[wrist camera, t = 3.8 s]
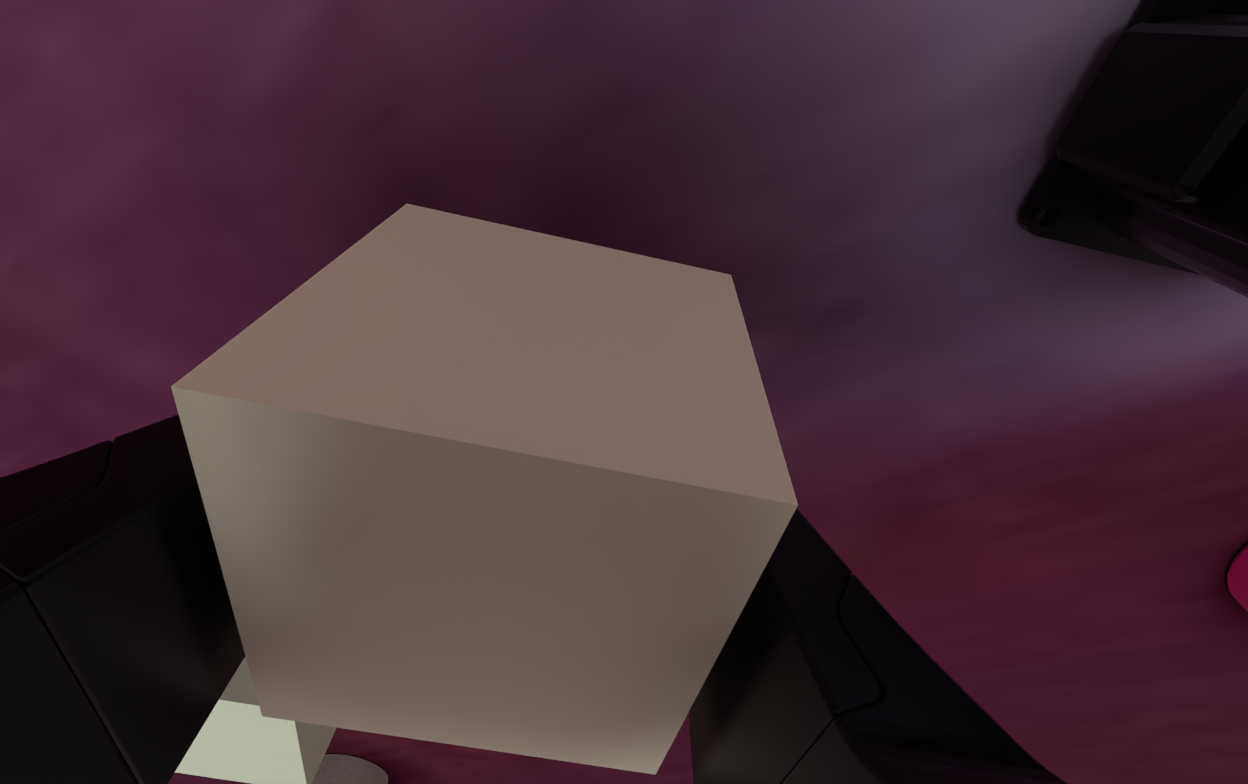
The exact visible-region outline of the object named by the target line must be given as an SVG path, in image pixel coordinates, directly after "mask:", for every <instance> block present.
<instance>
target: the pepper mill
mask: <svg viewBox="0 0 1248 784" xmlns="http://www.w3.org/2000/svg"><path fill="white" fill-rule="evenodd" d="M1227 582H1228V589H1229V591H1230V592H1231V594H1232V596H1233V597H1234V598H1235V599H1236V600H1237V601H1238V602H1239V603H1240V604H1241V606H1242V607H1243V608H1244V609H1245V610H1246V611H1247V612H1248V544H1247V545H1246V546H1245V547H1244V548H1243V549H1242V550H1241V552H1240V553H1239V554H1238V555H1237V556H1236V557H1235V559H1234V560H1233V561H1232V563H1231V566H1230V569H1229V571H1228V574H1227Z"/></svg>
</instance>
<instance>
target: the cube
mask: <svg viewBox="0 0 1248 784" xmlns="http://www.w3.org/2000/svg"><path fill="white" fill-rule="evenodd" d="M171 388H172V392H173V396H174V399H175V403H176V406H177V410H178V414H179V417H180V421H181V425H182V428H183V432H184V435H185V439H186V443H187V446H188V450H189V454H190V457H191V461H192V464H193V468H194V472H195V475H196V479H197V482H198V486H199V490H200V493H201V497H202V501H203V504H204V508H205V511H206V515H207V519H208V522H209V526H210V530H211V533H212V537H213V540H214V544H215V548H216V551H217V555H218V558H219V562H220V566H221V569H222V573H223V577H224V580H225V584H226V587H227V591H228V595H229V598H230V602H231V606H232V609H233V613H234V616H235V620H236V624H237V627H238V631H239V634H240V638H241V642H242V645H243V649H244V653H245V656H246V660H247V663H248V667H249V671H250V674H251V678H252V682H253V685H254V689H255V692H256V696H257V700H258V703H259V707H260V710H261V714H262V716H263V717H270V718H276V719H283V720H290V721H297V722H303V723H310V724H317V725H324V726H331V727H337V728H344V729H351V730H358V731H364V732H371V733H378V734H385V735H391V736H398V737H405V738H412V739H418V740H425V741H432V742H439V743H445V744H452V745H459V746H466V747H472V748H479V749H486V750H493V751H500V752H506V753H513V754H520V755H527V756H533V757H540V758H547V759H554V760H560V761H567V762H574V763H581V764H587V765H594V766H601V767H608V768H614V769H621V770H628V771H635V772H642V773H648V774H655V775H656V773H657V771H658V769H659V767H660V765H661V763H662V761H663V759H664V758H665V756H666V754H667V752H668V750H669V748H670V746H671V744H672V742H673V741H674V739H675V737H676V735H677V733H678V731H679V729H680V727H681V725H682V724H683V722H684V720H685V718H686V716H687V714H688V712H689V710H690V708H691V707H692V705H693V703H694V701H695V699H696V697H697V695H698V693H699V691H700V690H701V688H702V686H703V684H704V682H705V680H706V678H707V676H708V674H709V673H710V671H711V669H712V667H713V665H714V663H715V661H716V659H717V657H718V656H719V654H720V652H721V650H722V648H723V646H724V644H725V642H726V640H727V638H728V637H729V635H730V633H731V631H732V629H733V627H734V625H735V623H736V621H737V620H738V618H739V616H740V614H741V612H742V610H743V608H744V606H745V604H746V603H747V601H748V599H749V597H750V595H751V593H752V591H753V589H754V587H755V586H756V584H757V582H758V580H759V578H760V576H761V574H762V572H763V570H764V569H765V567H766V565H767V563H768V561H769V559H770V557H771V555H772V553H773V552H774V550H775V548H776V546H777V544H778V542H779V540H780V538H781V536H782V535H783V533H784V531H785V529H786V527H787V525H788V523H789V521H790V519H791V518H792V516H793V514H794V512H795V510H796V508H797V506H798V504H797V500H796V497H795V493H794V490H793V486H792V483H791V479H790V476H789V473H788V469H787V466H786V462H785V459H784V455H783V452H782V448H781V445H780V442H779V438H778V435H777V431H776V428H775V424H774V421H773V417H772V414H771V411H770V407H769V404H768V400H767V397H766V393H765V390H764V386H763V383H762V380H761V376H760V373H759V369H758V366H757V362H756V359H755V356H754V352H753V349H752V345H751V342H750V338H749V335H748V331H747V328H746V325H745V321H744V318H743V314H742V311H741V307H740V304H739V300H738V297H737V294H736V290H735V287H734V283H733V280H732V276H731V275H730V274H725V273H721V272H716V271H712V270H707V269H702V268H698V267H693V266H689V265H684V264H680V263H675V262H671V261H666V260H662V259H657V258H652V257H648V256H643V255H639V254H634V253H630V252H625V251H621V250H616V249H612V248H607V247H602V246H598V245H593V244H589V243H584V242H580V241H575V240H571V239H566V238H561V237H557V236H552V235H548V234H543V233H539V232H534V231H530V230H525V229H521V228H516V227H511V226H507V225H502V224H498V223H493V222H489V221H484V220H480V219H475V218H470V217H466V216H461V215H457V214H452V213H448V212H443V211H439V210H434V209H430V208H425V207H420V206H416V205H411V204H405V205H404V206H403V207H402V208H400V209H399V210H398V211H396V212H395V213H394V214H393V215H391V216H390V217H389V218H387V219H386V220H385V221H384V222H382V223H381V224H380V225H378V226H377V227H376V228H375V229H373V230H372V231H371V232H369V233H368V234H367V235H366V236H364V237H363V238H362V239H360V240H359V241H358V242H357V243H355V244H354V245H353V246H351V247H350V248H349V249H348V250H346V251H345V252H344V253H342V254H341V255H340V256H339V257H337V258H336V259H335V260H333V261H332V262H331V263H330V264H328V265H327V266H326V267H324V268H323V269H322V270H321V271H319V272H318V273H317V274H315V275H314V276H313V277H311V278H310V279H309V280H308V281H306V282H305V283H304V284H302V285H301V286H300V287H299V288H297V289H296V290H295V291H293V292H292V293H291V294H290V295H288V296H287V297H286V298H284V299H283V300H282V301H281V302H279V303H278V304H277V305H275V306H274V307H273V308H272V309H270V310H269V311H268V312H266V313H265V314H264V315H263V316H261V317H260V318H259V319H257V320H256V321H255V322H254V323H252V324H251V325H250V326H248V327H247V328H246V329H245V330H243V331H242V332H241V333H239V334H238V335H237V336H236V337H234V338H233V339H232V340H230V341H229V342H228V343H227V344H225V345H224V346H223V347H221V348H220V349H219V350H218V351H216V352H215V353H214V354H212V355H211V356H210V357H209V358H207V359H206V360H205V361H203V362H202V363H201V364H200V365H198V366H197V367H196V368H194V369H193V370H192V371H191V372H189V373H188V374H187V375H185V376H184V377H183V378H181V379H180V380H179V381H178V382H176V383H175V384H174V385H172V386H171Z"/></svg>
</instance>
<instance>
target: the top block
mask: <svg viewBox="0 0 1248 784" xmlns="http://www.w3.org/2000/svg"><path fill="white" fill-rule="evenodd" d="M336 728H337V727H331V726H324V725H317V724H310V723H303V722H297V721H290V720H283V719H276V718H270V717H263V716H262V714H261V710H260V707H259V703H258V700H257V696H256V692H255V689H254V685H253V682H252V678H251V674H250V671H249V667H248V663H247V660H246V656H245V658H244V659H243V661H242V662H241V664H240V666H239V667H238V669H237V671H236V672H235V674H234V676H233V677H232V679H231V681H230V682H229V684H228V686H227V687H226V689H225V690H224V692H223V694H222V695H221V697H220V699H219V700H218V702H217V704H216V705H215V707H214V709H213V710H212V712H211V714H210V715H209V717H208V718H207V720H206V722H205V723H204V725H203V727H202V728H201V730H200V732H199V733H198V735H197V737H196V738H195V740H194V741H193V743H192V745H191V746H190V748H189V750H188V751H187V753H186V755H185V756H184V758H183V760H182V761H181V763H180V765H179V766H178V768H177V769H176V771H175V772H176V773H183V774H190V775H197V776H204V777H210V778H217V779H224V780H231V781H238V782H245V783H251V784H312V782H313V780H314V777H315V775H316V773H317V771H318V768H319V766H320V764H321V762H322V759H323V757H324V755H325V753H326V750H327V748H328V746H329V744H330V741H331V739H332V737H333V735H334V732H335V730H336Z"/></svg>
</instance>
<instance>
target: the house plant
mask: <svg viewBox="0 0 1248 784" xmlns="http://www.w3.org/2000/svg"><path fill="white" fill-rule="evenodd" d="M312 784H388V774H387V773H386V772H385V771H384V770H383V769H382V768H380V767H379V766H377V765H376V764H373V763H371V762H369V761H367V760H364V759H361V758H358V757H354V756H349V755H342V754H325V755H324V757H323V759H322V762H321V764H320V766H319V768H318V771H317V773H316V775H315V777H314V780H313V782H312Z"/></svg>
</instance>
